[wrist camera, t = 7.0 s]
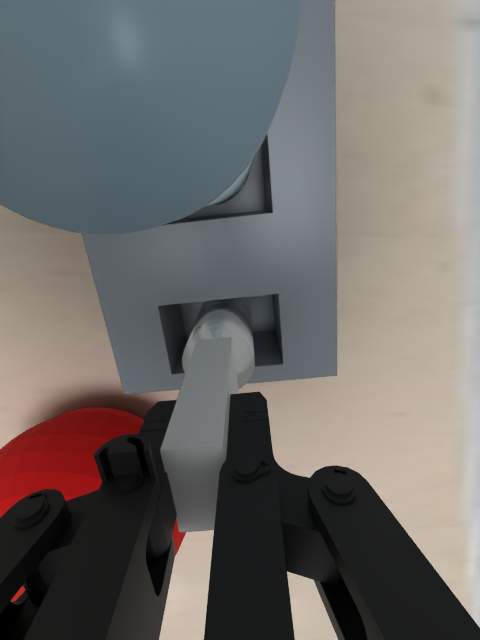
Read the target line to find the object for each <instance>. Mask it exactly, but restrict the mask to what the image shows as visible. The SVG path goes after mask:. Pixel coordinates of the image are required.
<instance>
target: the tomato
mask: <svg viewBox="0 0 480 640" xmlns="http://www.w3.org/2000/svg"><path fill="white" fill-rule="evenodd" d="M143 421H144V419H142V418H140V417H138V416H136V415H134V414H132V413H129V412H126V411H123V410H119V409H111V408H102V407H95V408H82V409H78V410H74V411H70V412H67V413H65V414H62V415H59V416H57V417H54V418H52V419H49V420H47V421H45V422H42V423H40V424H38V425H36V426H34V427H32V428H30V429H28V430H26V431H25V432H23V433H22V434H20V435H19V436H17V437H16V438H14V439H12V440H11V441H10V442H9V443H8V444H6V445H5V446H4V447H3V448H2V449H0V517H1V516H2V515H3V514H4V513H5V512H6V511H7V510H8V509H10V508H11V507H12V506H13V505H14V504H16V503H17V502H18V501H19V500H21V499H23V498H24V497H26V496H28V495H30V494H32V493H34V492H37V491H40V490H43V489H56V490H58V491H61V492H62V494H63V496H64V498H65V501H67V500H70V499H73V498H76V497H79V496H82V495H85V494H88V493H91V492H93V491H95V490H98V489H99V488H100V486H101V484H102V480H101V477H100V474H99V471H98V468H97V465H96V462H95V459H94V456H93V455H94V454H95V452H96V451H97V450H98V449H99V448H100V447H101V446H102V445H104V444H105V443H106V442H108V441H109V440H112V439H114V438H116V437H118V436H122V435H127V434H138V433H139V430H140V428H141V426H142V424H143ZM185 534H186V532H179V528H178V524H177V520H176V522H175V526H174V531H173V539H174V543H175V555H176V554H177V552H178V550H179V547H180V545H181V543H182V540H183V538H184V536H185ZM24 591H25V589H24V587H23V586H22V587H21V588H20V589H19V591H18V592H17V593H16V595H15V596H14V597H13V598H12V600H11V601H12V602H13V601H15V600H17V599H18V598H19V597H20V596H21V595H22V594H23V592H24Z"/></svg>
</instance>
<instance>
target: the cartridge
mask: <svg viewBox="0 0 480 640" xmlns="http://www.w3.org/2000/svg"><path fill="white" fill-rule="evenodd" d="M300 8H301V0H0V204H1V205H2V206H4V207H6V208H8V209H10V210H12V211H14V212H16V213H18V214H20V215H22V216H24V217H26V218H29V219H31V220H34V221H37V222H40V223H43V224H45V225H48V226H51V227H55V228H59V229H64V230H68V231H73V232H78V233H88V234H99V235H104V234H125V233H131V232H136V231H142V230H147V229H151V228H154V227H158V226H161V225H164V224H167V223H170V222H173V221H176V220H179V219H182V218H184V217H186V216H188V215H190V214H192V213H194V212H196V211H198V210H200V209H202V208H203V207H206V206H213V205H218V204H222V203H225V202H227V201H229V200H230V199H232V198H233V197H235V196H236V195H237V194H238V193H239V192H240V190H241V189H242V188H243V186H244V185H245V183H246V181H247V179H248V176H249V173H250V169H251V165H252V161H253V157H254V156H255V154H256V153H257V151H258V150H259V148H260V147H261V145H262V143H263V141H264V138H265V136H266V134H267V132H268V130H269V128H270V126H271V124H272V121H273V119H274V116H275V113H276V111H277V108H278V105H279V102H280V99H281V96H282V94H283V91H284V88H285V85H286V82H287V79H288V76H289V72H290V68H291V63H292V59H293V55H294V50H295V46H296V41H297V32H298V24H299V16H300Z"/></svg>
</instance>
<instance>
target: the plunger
mask: <svg viewBox="0 0 480 640" xmlns="http://www.w3.org/2000/svg"><path fill="white" fill-rule="evenodd" d="M226 337H232V343H233V351H234V359H235V367H236V375H237V383H238V389H240V388H241V387H243V386H244V385H245V384H246V383H247V382H248V381H249V379H250V378H251V376H252V374H253V371H254V366H255V358H254V344H253V330H252V316H251V307H250V304H249V302H248V301H247V299H246V298H245V297H241V298H231V299H221V300H211V301H204V302H203V304H202V306H201V309H200V311H199V314H198V316H197V319H196V322H195V324H194V327H193V329H192V332H191V334H190V337H189V339H188V342H187V344H186V347H185V349H184V352H183V357H182V365H183V370H184V372H185V374H186V371H187V368H188V365H189V362H190V360H191V357H192V354H193V351H194V348H195V345H196V342H197V340H205V339H216V338H226Z"/></svg>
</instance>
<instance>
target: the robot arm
mask: <svg viewBox="0 0 480 640" xmlns="http://www.w3.org/2000/svg"><path fill="white" fill-rule="evenodd" d="M93 456H94V459H95V462H96V465H97V468H98V471H99V474H100V477H101V480H102V484H101V486H100V488H99V489H98V490H95V491H93V492H91V493H88V494H85V495H82V496H79V497H76V498H73V499H70V500H67V501H65V498H64V496H63V494H62V492H61V491H58V490H56V489H43V490H40V491H37V492H34V493H32V494H30V495H28V496H26V497H24V498H23V499H21V500H19V501H18V502H17V503H16V504H14V505H13V506H12V507H11V508H10V509H8V510H7V511H6V512H5V513H4V514H3V515H2V516H1V517H0V640H159V636H160V631H161V625H162V620H163V615H164V610H165V604H166V599H167V594H168V589H169V584H170V578H171V573H172V568H173V563H174V557H175V543H174V539H173V531H174V526H175V522H176V520H177V524H178V528H179V532H192V531H206V530H214V537H213V548H212V559H211V570H210V581H209V591H208V602H207V613H206V624H205V635H204V640H295V639H294V630H293V621H292V613H291V604H290V595H289V587H288V578H287V571H288V572H291V573H294V574H297V575H301V576H304V577H307V578H310V579H314V582H315V584H316V587H317V589H318V592H319V594H320V596H321V599H322V601H323V604H324V606H325V608H326V611H327V613H328V616H329V618H330V620H331V623H332V625H333V628H334V630H335V633H336V635H337V637H338V640H480V628H479V626H478V625H477V624H476V623H475V621H474V620H473V619H472V617H471V616H470V615H469V613H468V612H467V611H466V609H465V608H464V607H463V606H462V604H461V603H460V602H459V600H458V599H457V598H456V596H455V595H454V594H453V592H452V591H451V590H450V589H449V587H448V586H447V585H446V583H445V582H444V581H443V579H442V578H441V577H440V575H439V574H438V573H437V572H436V570H435V569H434V568H433V566H432V565H431V564H430V562H429V561H428V560H427V558H426V557H425V556H424V555H423V553H422V552H421V551H420V549H419V548H418V547H417V545H416V544H415V543H414V541H413V540H412V539H411V538H410V536H409V535H408V534H407V532H406V531H405V530H404V528H403V527H402V526H401V524H400V523H399V522H398V521H397V519H396V518H395V517H394V515H393V514H392V513H391V511H390V510H389V509H388V507H387V506H386V505H385V504H384V502H383V501H382V500H381V498H380V497H379V496H378V494H377V493H376V492H375V490H374V489H373V488H372V487H371V485H370V484H369V483H368V481H367V480H366V479H365V478H363V477H362V476H361V475H360V474H359V473H358V472H356V471H354V470H351V469H349V468H347V467H341V466H327V467H323V468H321V469H319V470H317V471H316V472H315V473H314V474H313V475H312V476H311V477H310V478H307V477H302V476H298V475H294V474H291V473H289V472H287V471H285V470H284V469H282V468H281V467H280V466H279V465H278V464H277V462H276V461H275V459H274V456H273V452H272V443H271V434H270V426H269V417H268V409H267V400H266V399H265V398H264V396H263V395H262V394H261V393H260V392H251V393H240V394H239V391H238V383H237V375H236V367H235V359H234V351H233V343H232V337H226V338H216V339H205V340H197V342H196V345H195V348H194V351H193V354H192V357H191V360H190V362H189V365H188V368H187V371H186V374H185V377H184V380H183V383H182V386H181V389H180V392H179V395H178V398H177V400H171V401H160V402H157V403H156V404H155V405H154V406H153V407H152V408H151V409H150V410H149V411H148V413H147V415H146V417H145V419H144V421H143V424H142V426H141V428H140V430H139V433H138V434H127V435H122V436H118V437H116V438H114V439H112V440H109V441H108V442H106V443H105V444H104V445H102V446H101V447H100V448H99V449H98V450H97V451H96V452H95V454H94V455H93ZM22 586H23V587H24V589H25V591H24V592H23V594H22V595H21V596H20V597H19V598H18V599H17V600H15V601H13V602H11V600H12V598H13V597H14V596H15V595H16V593H17V592H18V591H19V589H20V588H21V587H22Z"/></svg>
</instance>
